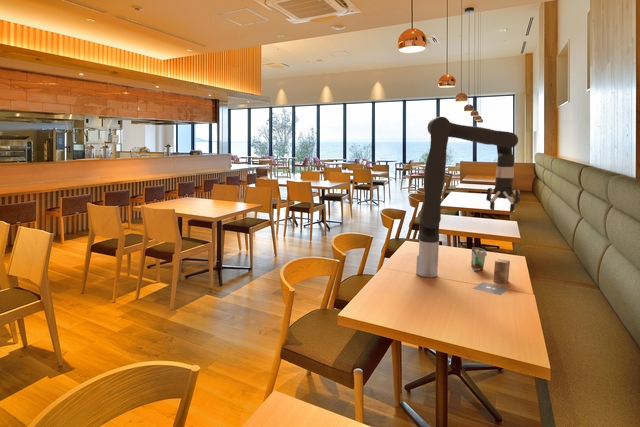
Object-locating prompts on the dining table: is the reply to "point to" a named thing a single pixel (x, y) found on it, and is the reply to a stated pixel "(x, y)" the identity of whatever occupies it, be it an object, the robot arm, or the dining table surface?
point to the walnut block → (501, 271)
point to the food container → (478, 259)
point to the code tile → (491, 288)
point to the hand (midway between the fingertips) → (501, 211)
